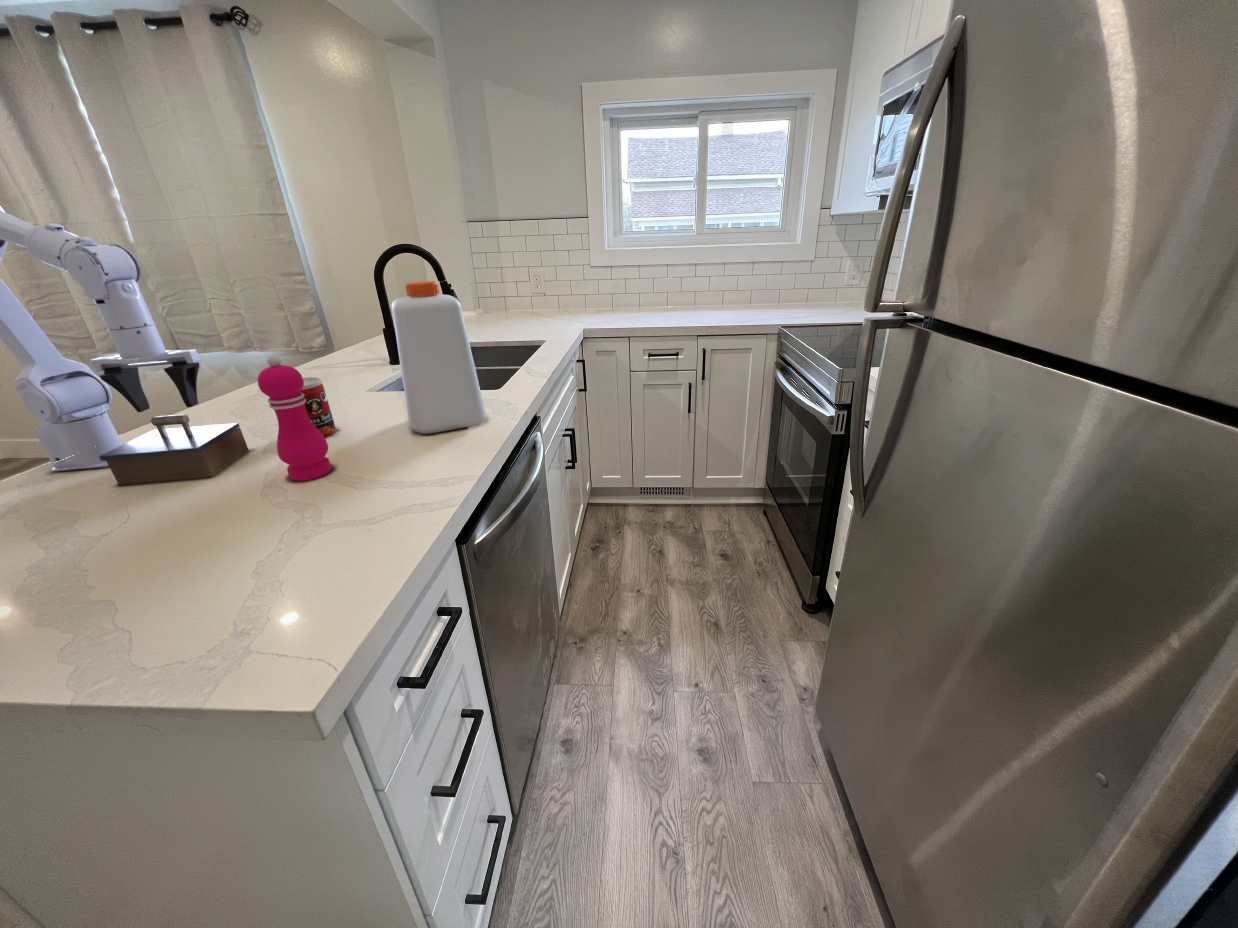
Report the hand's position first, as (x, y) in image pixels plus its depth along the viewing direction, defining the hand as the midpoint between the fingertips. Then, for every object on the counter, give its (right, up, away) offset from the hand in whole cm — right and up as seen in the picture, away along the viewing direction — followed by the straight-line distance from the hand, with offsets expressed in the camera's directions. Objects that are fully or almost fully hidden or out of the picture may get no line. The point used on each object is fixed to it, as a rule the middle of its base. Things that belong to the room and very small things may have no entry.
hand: (168, 408), depth 85 cm
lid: (0, -6, +1) cm, 6 cm away
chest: (0, -10, +4) cm, 11 cm away
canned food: (+15, -4, +17) cm, 23 cm away
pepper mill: (+25, -11, -1) cm, 27 cm away
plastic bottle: (+41, -1, +21) cm, 46 cm away
